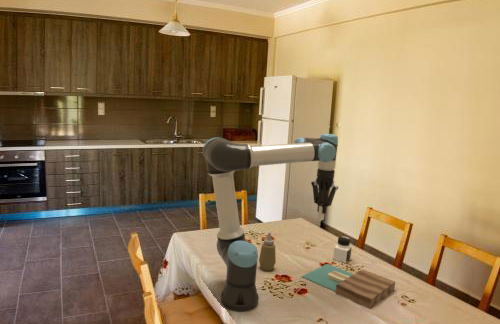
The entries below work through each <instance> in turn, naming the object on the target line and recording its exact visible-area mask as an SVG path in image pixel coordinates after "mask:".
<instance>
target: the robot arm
mask: <svg viewBox="0 0 500 324" xmlns="http://www.w3.org/2000/svg"><path fill="white" fill-rule="evenodd" d="M338 140H339V138H338V135H337V134H333V133H321V135H320V137H319V138H318V137H317V138H314V137H297V138H296V139H295V140H294V142H293V143H284V144H283V143H282V144H269V145H254V146H252V145H251V146H250V144H248V143H243V144H242V143H235V142H231V141H229V140H228V139H226V138H224V137H212V138H210V139H209V140H207V141H206V142H205V143H204V145H203V147H202V156H203V159H204V161H205V164H206V171H207V174H208V175H209V176H210V177H212V185H213V192H214V198H215V199H214V201H215V206H216V213H217V220H218V228H219V231H217V234H216V239H217V241H216V250H217V253H218V255H219V256H220V257H221V259H222V260H223V262H224V264H225V265H226V279H225V280H226V281H225V285H224V287H223V290H222V291H221V294H220V304H221V305H222V306H223V307H225V308H226V309H228V310H229V311H234V312H249V311H252V310H254V309H256V308H257V307H258V305H259V299H260V298H259V294H258V291H257V286H256V282H257V281H256V279H257V267H258V259H259V256H258V248H257V247H256V246H255V244H254V243H252V242H249V241H247V240H246V236H245V235H246V234H245V230H244V229H243V228H242V227H241V225H240V224H241V223H240V218H239V209H238V202H237V195H236V194H237V193H236V188H235V180H234V173H235V172H236V171H244V170H250V169H251V168H252V167H259V166H269V165H270V166H271V165H272V166H273V165H283V164H293V163H294V164H295V163H306V162H317V171H316V176H317V177H316V179H315V180H314V181H311V183H310V184H311V187H312V193H313V195H312V196H313V201H314V204H316V205H317V210H316V211H317V213H318V214H317V216H318V217H317V221H323V220H325V215H326V214H327V207H330V206H332V203H333V200H334V198H335V194H336V192H337V190H339V186H338V185H336V184H335V182H334V178H335V169H336V160H337V153H338V145H339V144H338V142H339V141H338Z"/></svg>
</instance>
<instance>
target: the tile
mask: <svg viewBox="0 0 500 324" xmlns="http://www.w3.org/2000/svg"><path fill="white" fill-rule="evenodd" d="M327 278H328V279H330V280H333V281H335V282H338V283H340V282H342V281H343V280H345V279H347V278H349V276H347V275H344V274H342V273H339V272H337V271H332V272H330V273H329V274H327Z"/></svg>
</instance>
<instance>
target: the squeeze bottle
mask: <svg viewBox="0 0 500 324" xmlns="http://www.w3.org/2000/svg"><path fill="white" fill-rule="evenodd" d="M274 242H275V240H274V239H272V233H271V232H268V233H267V236H266V238H265V239H264V241H263V243H262V244H261V248H260V253H259V257H258V259H259V261H258V262H259V266H260V269H261V270H263V271H266V272H267V271H268V272H269V271H273V269H274V267H275V265H276V262H277V260H276V256H277V255H276V245H275V243H274Z"/></svg>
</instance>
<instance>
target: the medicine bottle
mask: <svg viewBox="0 0 500 324" xmlns="http://www.w3.org/2000/svg"><path fill="white" fill-rule="evenodd" d="M350 242H351V240H350V238H349V237H347V236H339V237H338V239H337V244H336V245H335V246H334V247H333V258H332V259H333V261H336V260H337V262H341V263H343V262H344V263H343V264H347V263H348V262H349V261H350V260H351V255H352V246H351V245H350ZM349 259H350V260H349Z"/></svg>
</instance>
